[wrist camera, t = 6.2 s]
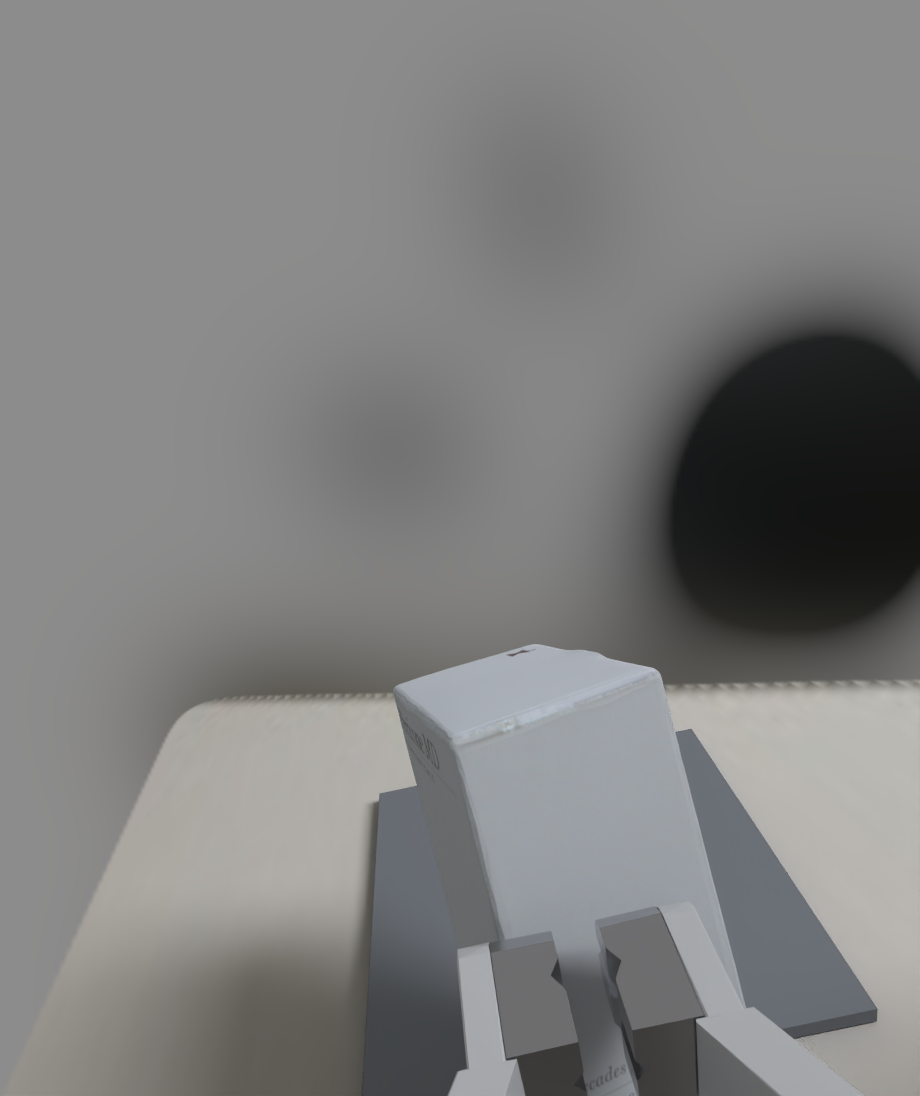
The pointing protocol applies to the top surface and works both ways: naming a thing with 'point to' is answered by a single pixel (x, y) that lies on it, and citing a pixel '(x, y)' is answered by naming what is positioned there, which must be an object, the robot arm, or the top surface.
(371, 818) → the top surface
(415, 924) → the slate mat
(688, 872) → the skincare box
